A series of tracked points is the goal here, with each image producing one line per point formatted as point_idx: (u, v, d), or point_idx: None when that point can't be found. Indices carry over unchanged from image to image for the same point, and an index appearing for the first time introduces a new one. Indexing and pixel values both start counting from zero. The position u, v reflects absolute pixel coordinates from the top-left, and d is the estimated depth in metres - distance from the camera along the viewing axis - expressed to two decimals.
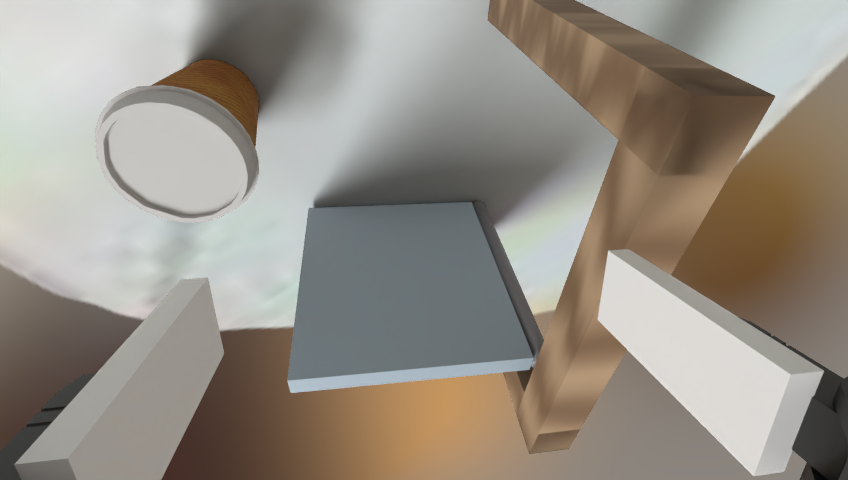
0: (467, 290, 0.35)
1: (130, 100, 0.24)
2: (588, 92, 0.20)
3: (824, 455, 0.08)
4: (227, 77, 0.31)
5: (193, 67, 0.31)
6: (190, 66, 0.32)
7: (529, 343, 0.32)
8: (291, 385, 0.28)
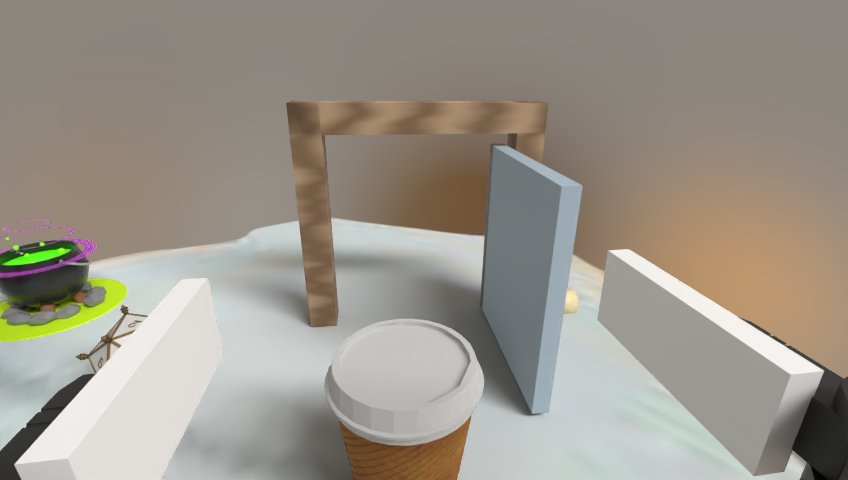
0: (497, 218, 0.44)
1: (332, 384, 0.23)
2: (316, 169, 0.42)
3: (824, 455, 0.08)
4: None
5: None
6: None
7: (493, 159, 0.45)
8: (569, 185, 0.29)
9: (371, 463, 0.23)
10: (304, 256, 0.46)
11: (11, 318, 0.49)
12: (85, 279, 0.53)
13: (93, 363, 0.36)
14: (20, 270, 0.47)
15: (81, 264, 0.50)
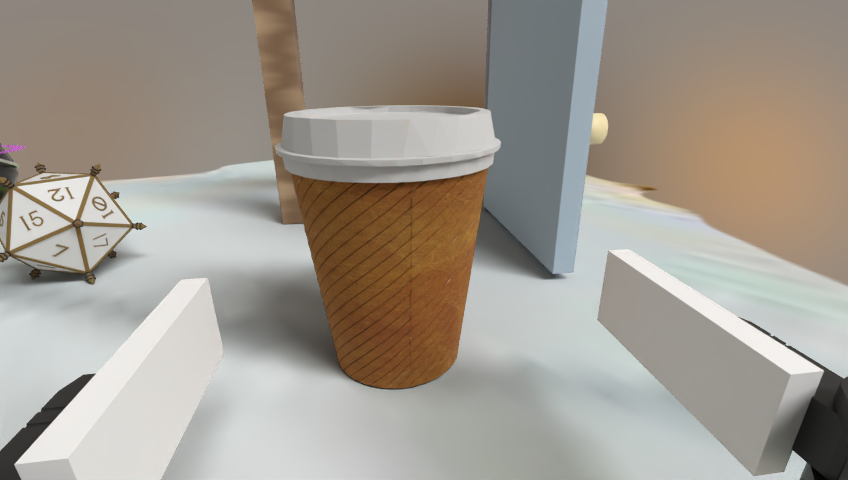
0: (499, 74, 0.37)
1: (283, 129, 0.16)
2: (281, 14, 0.35)
3: (824, 455, 0.08)
4: None
5: None
6: (328, 320, 0.20)
7: (492, 10, 0.39)
8: None
9: (343, 237, 0.16)
10: (271, 130, 0.38)
11: None
12: None
13: None
14: None
15: (3, 160, 0.42)
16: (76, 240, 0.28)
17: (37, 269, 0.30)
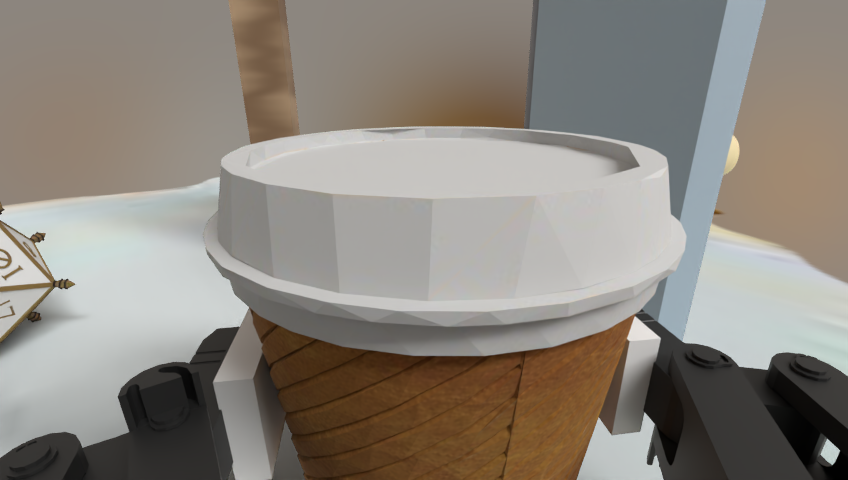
0: (552, 75, 0.28)
1: (219, 192, 0.07)
2: None
3: (666, 418, 0.09)
4: None
5: None
6: None
7: None
8: None
9: (348, 440, 0.07)
10: None
11: None
12: None
13: None
14: None
15: None
16: None
17: None
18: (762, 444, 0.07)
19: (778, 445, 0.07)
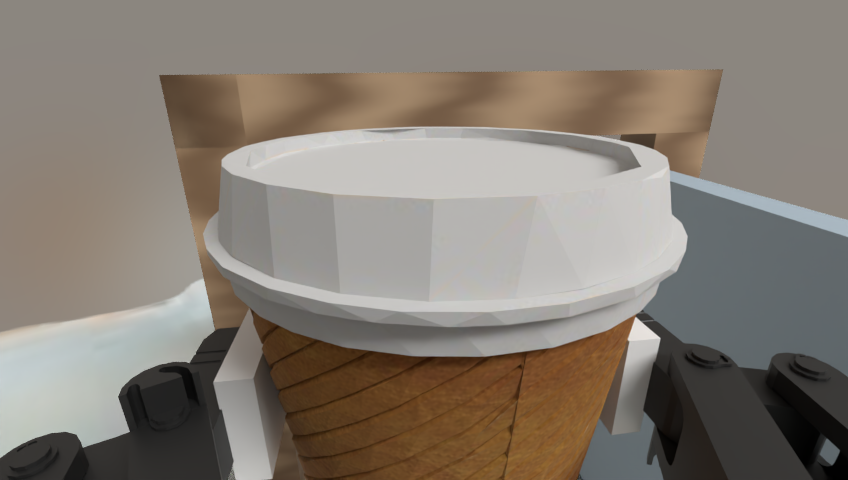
0: None
1: (220, 192, 0.07)
2: None
3: (666, 419, 0.09)
4: None
5: None
6: None
7: None
8: None
9: (349, 441, 0.07)
10: None
11: None
12: None
13: None
14: None
15: None
16: None
17: None
18: (761, 444, 0.07)
19: (777, 445, 0.07)
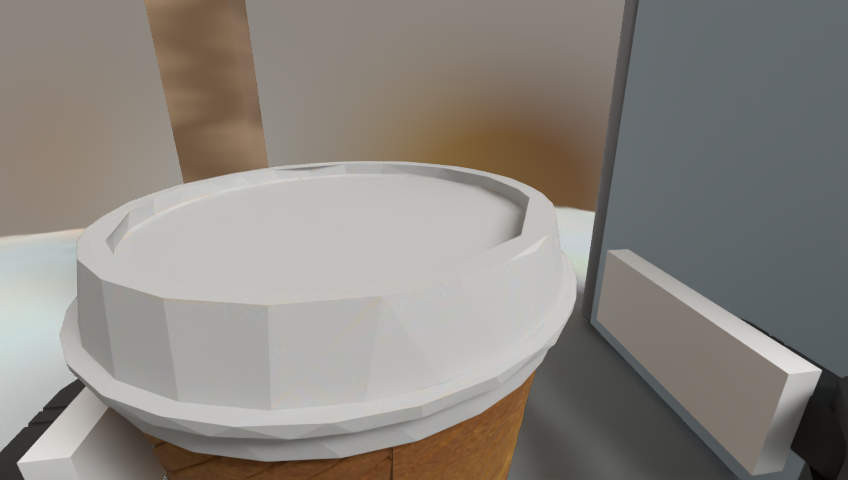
0: (671, 95, 0.17)
1: None
2: None
3: (822, 454, 0.08)
4: None
5: None
6: None
7: None
8: None
9: None
10: None
11: None
12: None
13: None
14: None
15: None
16: None
17: None
18: None
19: None
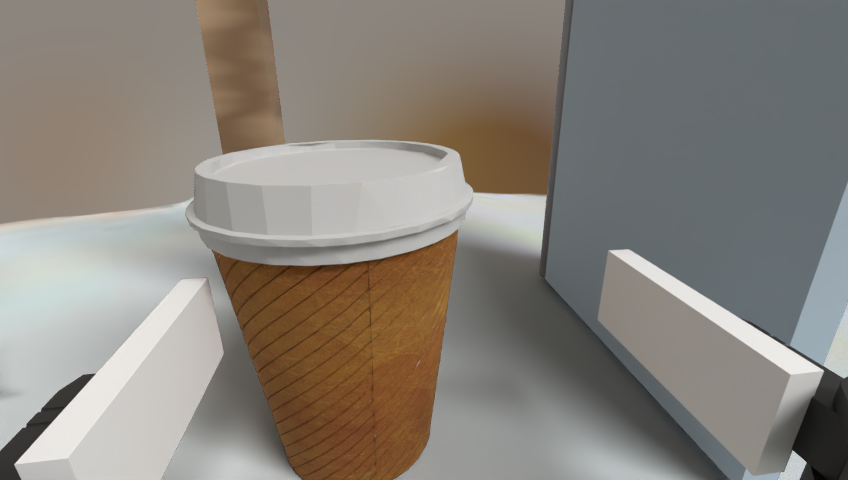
0: (590, 94, 0.23)
1: (195, 189, 0.12)
2: None
3: (824, 455, 0.08)
4: None
5: None
6: None
7: None
8: None
9: (281, 327, 0.12)
10: None
11: None
12: None
13: None
14: None
15: None
16: None
17: None
18: None
19: None
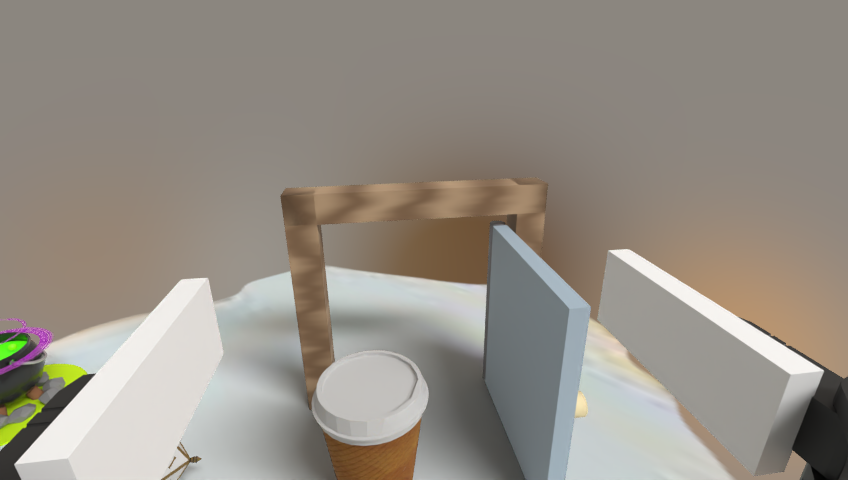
0: (499, 300, 0.43)
1: (318, 407, 0.32)
2: (312, 258, 0.41)
3: (824, 455, 0.08)
4: None
5: None
6: None
7: (493, 237, 0.44)
8: (576, 306, 0.28)
9: (351, 461, 0.32)
10: (302, 342, 0.44)
11: None
12: (40, 374, 0.49)
13: None
14: None
15: (35, 362, 0.46)
16: None
17: None
18: None
19: None
